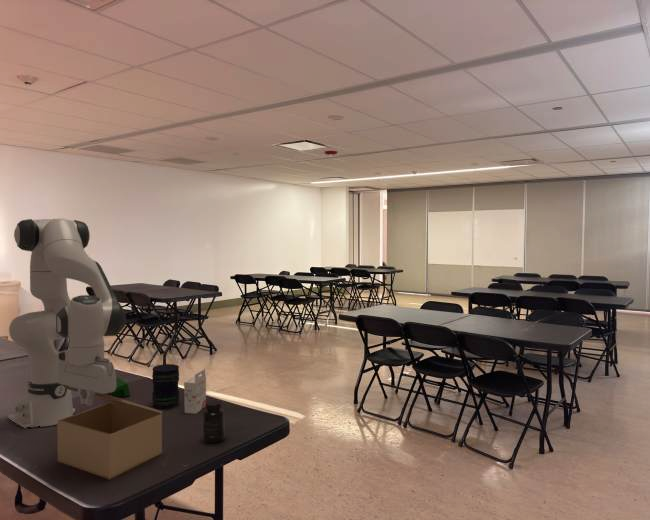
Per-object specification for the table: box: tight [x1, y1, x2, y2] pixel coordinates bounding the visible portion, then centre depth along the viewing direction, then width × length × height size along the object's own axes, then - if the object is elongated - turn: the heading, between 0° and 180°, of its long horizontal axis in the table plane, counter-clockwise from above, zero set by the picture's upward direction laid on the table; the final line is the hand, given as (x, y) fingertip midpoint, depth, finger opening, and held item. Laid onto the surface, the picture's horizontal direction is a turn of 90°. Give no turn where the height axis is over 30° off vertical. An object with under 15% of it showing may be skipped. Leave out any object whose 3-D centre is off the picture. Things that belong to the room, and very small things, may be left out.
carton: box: [56, 401, 163, 480], centre depth 138 cm, size 22×18×12 cm
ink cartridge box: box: [183, 369, 207, 415], centre depth 178 cm, size 9×5×15 cm, turn 168°
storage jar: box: [151, 363, 180, 411], centre depth 182 cm, size 10×10×15 cm
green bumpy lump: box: [107, 377, 131, 398], centre depth 194 cm, size 12×6×9 cm, turn 36°
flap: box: [65, 386, 164, 414], centre depth 138 cm, size 22×18×1 cm
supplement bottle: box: [202, 400, 225, 444], centre depth 151 cm, size 7×7×12 cm
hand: (86, 404), depth 130 cm, fingers closed, pressing on flap
